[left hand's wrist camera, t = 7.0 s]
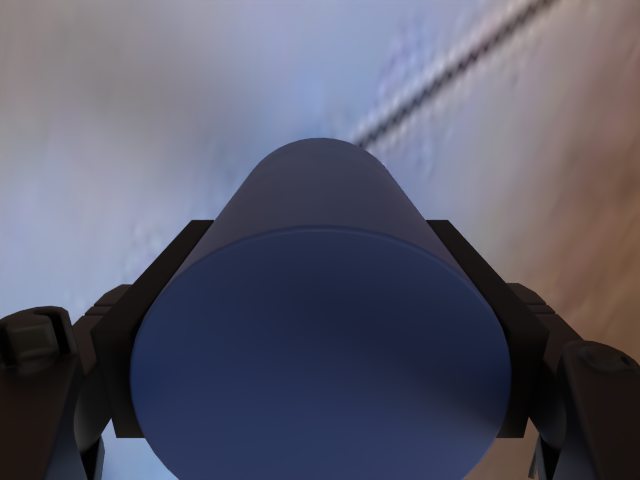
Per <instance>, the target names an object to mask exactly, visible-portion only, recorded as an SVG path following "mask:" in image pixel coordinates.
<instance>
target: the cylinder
mask: <svg viewBox="0 0 640 480" xmlns="http://www.w3.org/2000/svg"><path fill="white" fill-rule="evenodd" d="M129 381H130V392H131V401H132V404H133V408H134V412H135V416H136V419H137V421H138V424H139V426H140V428H141V431H142V433H143V435H144V437H145V439H146V440H147V442H148V444H149V445H150V447H151V448H152V450H153V452H154V453H155V454H156V456H157V457H158V458H159V459H160V460H161V462H162V463H163V464H164V465H165V466H166V468H167V469H168V470H169V471H170V472H172V473H173V474H174V475H175V476H176V477H177V478H178V479H179V480H462V479H463V478H464V477H465V476H467V475H468V474H469V472H470V471H471V470H472V469H473V468H474V467H475V466H476V465H477V464H478V463H479V462H480V461H481V459H482V458H483V457H484V455H485V454H486V453H487V451H488V450H489V448H490V447H491V446H492V444H493V442H494V440H495V438H496V436H497V435H498V433H499V431H500V429H501V427H502V424H503V421H504V418H505V415H506V412H507V410H508V404H509V399H510V394H511V362H510V355H509V349H508V345H507V342H506V339H505V336H504V333H503V330H502V327H501V325H500V323H499V321H498V319H497V317H496V316H495V314H494V312H493V310H492V308H491V306H490V305H489V304H488V302H487V301H486V300H485V298H484V297H483V296H482V295H481V293H480V292H479V291H478V289H477V288H476V287H475V285H474V284H473V283H472V281H471V280H470V279H469V277H468V276H467V275H466V273H465V272H464V271H463V269H462V268H461V267H460V265H459V264H458V263H457V261H456V260H455V259H454V258H453V256H452V255H451V254H450V252H449V251H448V250H447V248H446V247H445V246H444V244H443V243H442V242H441V240H440V239H439V238H438V236H437V235H436V234H435V232H434V231H433V230H432V228H431V227H430V226H429V224H428V223H427V222H426V220H425V219H424V218H423V217H422V215H421V214H420V213H419V211H418V210H417V209H416V207H415V206H414V205H413V203H412V202H411V201H410V199H409V198H408V197H407V195H406V194H405V193H404V191H403V190H402V189H401V187H400V186H399V185H398V183H397V182H396V181H395V180H394V178H393V177H392V176H391V174H390V173H389V172H388V170H387V169H386V168H385V166H384V165H383V164H382V163H381V162H380V161H379V160H378V159H377V158H375V157H374V156H373V155H371V154H370V153H369V152H367V151H365V150H364V149H362V148H360V147H358V146H356V145H353V144H351V143H348V142H345V141H341V140H337V139H329V138H310V139H304V140H299V141H296V142H292V143H289V144H287V145H285V146H283V147H280V148H278V149H277V150H275V151H274V152H272V153H270V154H269V155H268V156H267V157H265V158H264V159H263V160H262V161H261V162H260V163H259V164H258V165H257V166H256V167H255V168H254V169H253V171H252V172H251V173H250V175H249V176H248V177H247V179H246V180H245V181H244V182H243V184H242V185H241V186H240V188H239V189H238V190H237V192H236V193H235V194H234V196H233V197H232V198H231V200H230V201H229V202H228V204H227V205H226V206H225V208H224V209H223V210H222V212H221V213H220V214H219V216H218V217H217V218H216V220H215V221H214V222H213V224H212V225H211V226H210V228H209V229H208V230H207V232H206V233H205V234H204V236H203V237H202V238H201V240H200V241H199V242H198V244H197V245H196V246H195V248H194V249H193V250H192V251H191V253H190V254H189V255H188V257H187V258H186V259H185V261H184V262H183V263H182V265H181V266H180V267H179V269H178V270H177V271H176V273H175V274H174V275H173V277H172V278H171V279H170V281H169V282H168V283H167V285H166V286H165V287H164V289H163V290H162V291H161V293H160V294H159V295H158V297H157V298H156V300H155V301H154V303H153V304H152V306H151V307H150V309H149V310H148V312H147V313H146V315H145V317H144V319H143V321H142V324H141V326H140V328H139V330H138V333H137V335H136V338H135V342H134V346H133V350H132V354H131V362H130V375H129Z"/></svg>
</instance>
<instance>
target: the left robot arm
mask: <svg viewBox="0 0 640 480" xmlns="http://www.w3.org/2000/svg"><path fill="white" fill-rule="evenodd" d="M213 222H214V220H191V221H190V223H189V224H188V225H187V226H186V227H185V228H184V229H183V230H182V231H181V232H180V233H179V234H178V236H177V237H176V238H175V239H174V240H173V241H172V242H171V243H170V244H169V245H168V246H167V248H166V249H165V250H164V251H163V252H162V253H161V254H160V255H159V256H158V257H157V258H156V260H155V261H154V262H153V263H152V264H151V265H150V266H149V267H148V268H147V269H146V270H145V271H144V273H143V274H142V275H141V276H140V277H139V278H138V279H137V280H136V281H135V282H134V283H133V284H122V285H120V286H118V287H116V288H114V289H112V290H111V291H109V292H107V293H105V294H104V295H103V296H102V297H101V298H100V299H99V300H98V301H97V302H96V303H95V304H94V307H91V308H90V309H89V310H88V311H87V312H86V313H85V316H82V317H81V318H80V319H79V320H78V321H77V322H76V323H75V324H74V325H73V326H72V324H71V321H70V317H69V313H68V311H67V310H65V309H64V308H62V307H55V306H43V307H35V308H30V309H26V310H22V311H19V312H16V313H14V314H11V315H8V316H6V317H4V318H2V319H0V480H101V477H102V469H103V462H104V454H105V449H104V443H103V439H102V436H101V434H102V432H103V430H104V429H105V427H106V426H107V424H108V422H109V421H110V419H111V418H112V422H113V426H114V430H115V434H116V438H145V437H144V435H143V433H142V431H141V428H140V426H139V424H138V421H137V419H136V416H135V412H134V408H133V404H132V401H131V392H130V381H129V375H130V362H131V354H132V350H133V346H134V342H135V338H136V335H137V333H138V330H139V328H140V326H141V324H142V321H143V319H144V317H145V315H146V313H147V312H148V310H149V309H150V307H151V306H152V304H153V303H154V301H155V300H156V298H157V297H158V295H159V294H160V293H161V291H162V290H163V289H164V287H165V286H166V285H167V283H168V282H169V281H170V279H171V278H172V277H173V275H174V274H175V273H176V271H177V270H178V269H179V267H180V266H181V265H182V263H183V262H184V261H185V259H186V258H187V257H188V255H189V254H190V253H191V251H192V250H193V249H194V248H195V246H196V245H197V244H198V242H199V241H200V240H201V238H202V237H203V236H204V234H205V233H206V232H207V230H208V229H209V228H210V226H211V225H212V224H213ZM426 222H427V223H428V224H429V226H430V227H431V228H432V230H433V231H434V232H435V234H436V235H437V236H438V238H439V239H440V240H441V242H442V243H443V244H444V246H445V247H446V248H447V250H448V251H449V252H450V254H451V255H452V256H453V258H454V259H455V260H456V261H457V263H458V264H459V265H460V267H461V268H462V269H463V271H464V272H465V273H466V275H467V276H468V277H469V279H470V280H471V281H472V283H473V284H474V285H475V287H476V288H477V289H478V291H479V292H480V293H481V295H482V296H483V297H484V298H485V300H486V301H487V302H488V304H489V305H490V306H491V308H492V310H493V312H494V314H495V316H496V317H497V319H498V321H499V323H500V325H501V327H502V330H503V333H504V336H505V339H506V342H507V345H508V349H509V355H510V362H511V394H510V399H509V404H508V410H507V412H506V415H505V418H504V421H503V424H502V427H501V429H500V431H499V433H498V435H497V436H496V438H523V437H524V433H525V429H526V425H527V421H528V417H530V419H531V421H532V422H533V424H534V425H535V427H536V429H537V430H538V432H539V436H538V439H537V443H536V447H535V451H534V454H533V458H532V462H531V465H530V469H529V475H528V477H529V478H532V479H534V477H535V474H536V470H538V476H539V480H640V366H639V365H638V363H637V362H636V361H635V360H634V359H632V358H631V357H629V356H628V355H626V354H625V353H623V352H622V351H619V350H617V349H615V348H613V347H611V346H608V345H605V344H601V343H598V342H594V341H585V340H583V339H582V338H581V337H580V336H579V335H578V334H577V333H576V332H575V331H574V330H573V329H572V328H571V327H570V326H569V325H568V324H567V323H566V322H565V321H564V320H563V319H562V318H561V317H560V316H559V315H558V314H555V311H554V310H553V309H552V308H551V307H550V306H549V305H546V302H545V301H544V300H543V299H542V298H541V297H540V296H539V295H537V294H536V293H535V292H534V291H532V290H530V289H528V288H526V287H525V286H523V285H521V284H519V283H505V282H504V280H503V279H502V278H501V277H500V276H499V275H498V274H497V273H496V272H495V271H494V270H493V269H492V267H491V266H490V265H489V264H488V263H487V262H486V261H485V260H484V259H483V258H482V257H481V255H480V254H479V253H478V252H477V251H476V250H475V249H474V248H473V247H472V246H471V245H470V243H469V242H468V241H467V240H466V239H465V238H464V237H463V236H462V235H461V234H460V233H459V232H458V230H457V229H456V228H455V227H454V226H453V225H452V224H451V223H450V222H449V221H448V220H426Z"/></svg>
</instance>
